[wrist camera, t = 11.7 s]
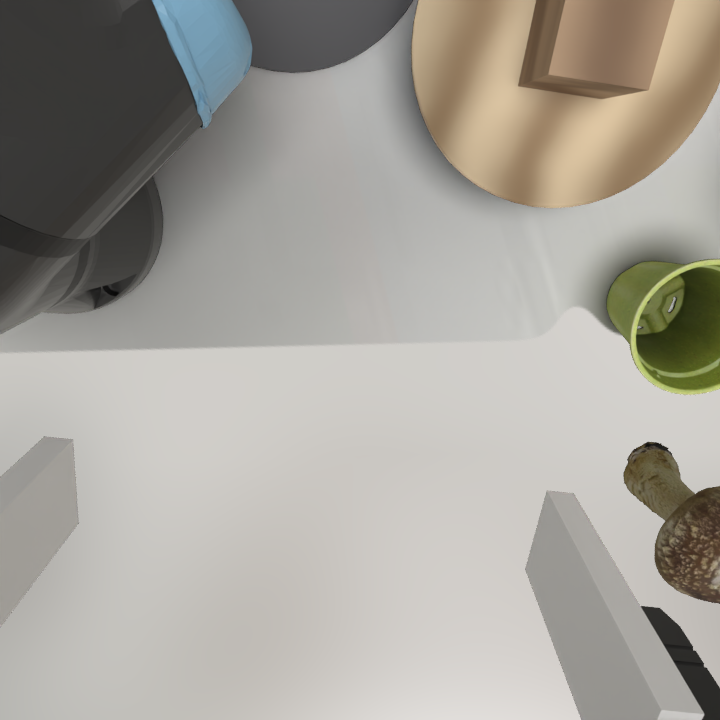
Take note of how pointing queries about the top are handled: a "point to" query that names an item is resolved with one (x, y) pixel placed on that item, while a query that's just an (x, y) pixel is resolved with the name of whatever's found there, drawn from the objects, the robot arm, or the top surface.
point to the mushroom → (679, 522)
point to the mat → (315, 30)
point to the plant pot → (671, 323)
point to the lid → (563, 90)
